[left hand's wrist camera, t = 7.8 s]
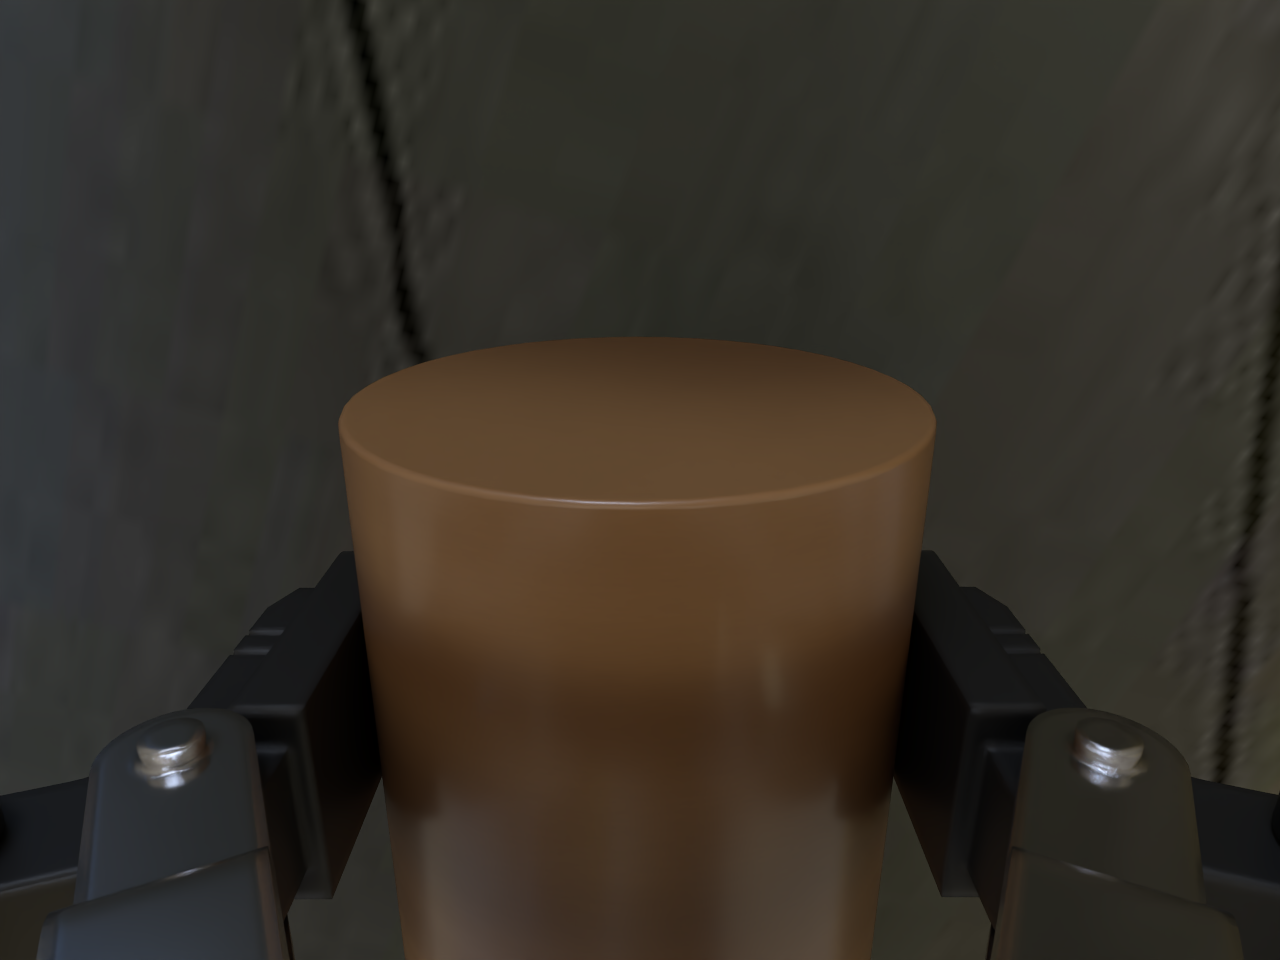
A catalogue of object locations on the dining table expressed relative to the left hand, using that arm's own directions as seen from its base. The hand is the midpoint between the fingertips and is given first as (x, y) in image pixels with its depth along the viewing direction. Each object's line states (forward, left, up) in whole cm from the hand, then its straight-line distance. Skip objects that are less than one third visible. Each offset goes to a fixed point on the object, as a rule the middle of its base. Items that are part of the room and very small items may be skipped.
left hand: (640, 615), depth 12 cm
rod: (+5, +8, -2) cm, 9 cm away
